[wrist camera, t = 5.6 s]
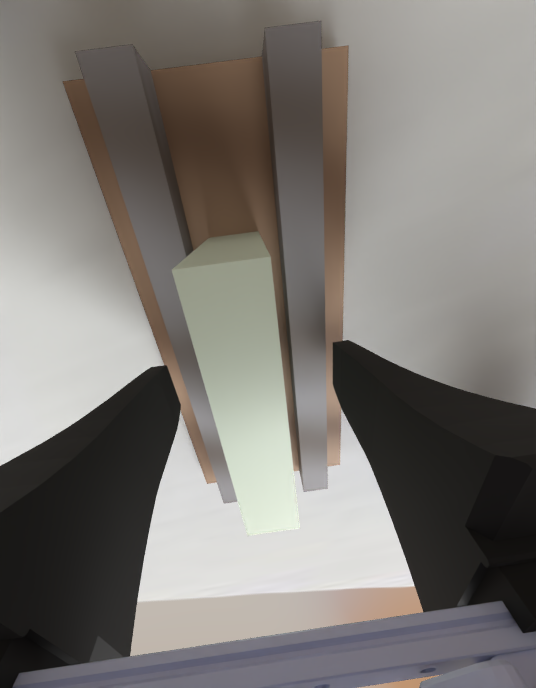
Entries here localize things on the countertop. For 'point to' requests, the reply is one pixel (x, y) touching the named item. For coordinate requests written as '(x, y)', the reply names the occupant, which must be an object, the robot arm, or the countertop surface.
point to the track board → (232, 207)
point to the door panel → (243, 372)
